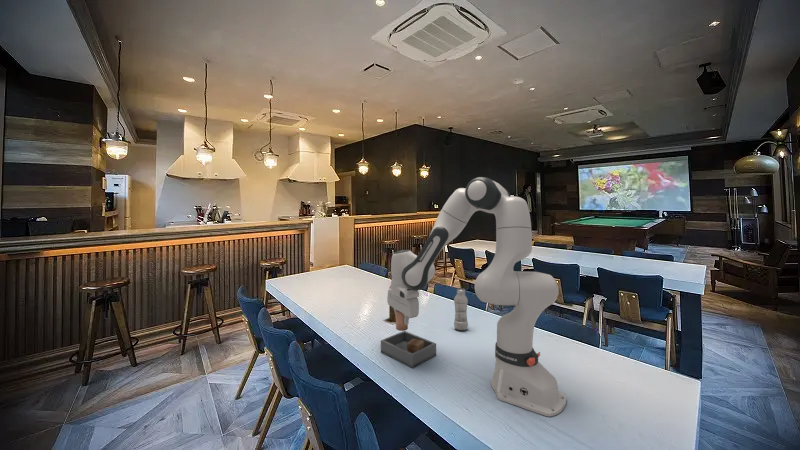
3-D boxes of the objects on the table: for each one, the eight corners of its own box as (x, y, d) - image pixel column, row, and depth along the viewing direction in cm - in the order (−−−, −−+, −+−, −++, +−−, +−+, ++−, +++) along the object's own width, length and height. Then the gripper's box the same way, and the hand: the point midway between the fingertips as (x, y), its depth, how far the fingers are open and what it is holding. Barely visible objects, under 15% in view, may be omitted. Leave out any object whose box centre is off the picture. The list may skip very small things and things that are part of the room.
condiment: (404, 320, 163) (404, 298, 162) (392, 324, 157) (392, 301, 156) (394, 316, 168) (394, 295, 167) (383, 320, 162) (382, 298, 161)
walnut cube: (424, 353, 124) (424, 341, 124) (418, 358, 120) (418, 346, 119) (413, 350, 127) (413, 338, 126) (407, 355, 122) (407, 343, 122)
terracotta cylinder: (410, 328, 129) (410, 311, 128) (402, 331, 125) (402, 315, 125) (401, 324, 132) (401, 309, 132) (393, 328, 128) (393, 312, 128)
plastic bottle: (468, 332, 146) (468, 291, 145) (453, 331, 148) (453, 290, 146) (467, 327, 153) (468, 287, 151) (454, 326, 154) (454, 287, 153)
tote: (436, 355, 124) (436, 343, 124) (412, 368, 114) (412, 355, 114) (404, 341, 137) (404, 330, 137) (380, 352, 127) (380, 340, 127)
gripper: (383, 284, 135) (384, 314, 136) (407, 296, 117) (408, 331, 118) (396, 282, 138) (396, 312, 139) (421, 293, 120) (421, 328, 121)
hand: (402, 321), depth 128 cm, fingers closed on terracotta cylinder, 5 cm apart
